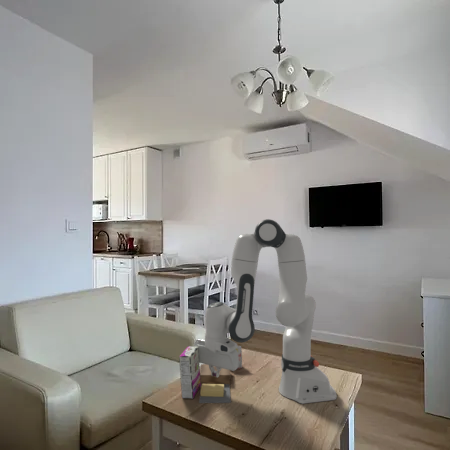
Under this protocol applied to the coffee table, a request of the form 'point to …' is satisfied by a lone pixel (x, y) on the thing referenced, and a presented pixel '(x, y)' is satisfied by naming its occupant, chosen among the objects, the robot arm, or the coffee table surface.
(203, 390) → the pale yellow rectangular block
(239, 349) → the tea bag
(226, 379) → the deck
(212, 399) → the mat
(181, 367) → the candy bar box
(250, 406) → the coffee table surface
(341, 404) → the coffee table surface
